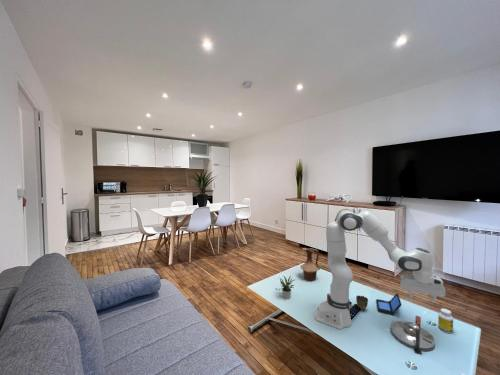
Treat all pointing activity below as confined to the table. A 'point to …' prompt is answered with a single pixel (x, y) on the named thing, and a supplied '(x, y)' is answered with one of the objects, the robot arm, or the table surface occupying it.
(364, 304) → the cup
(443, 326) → the pill bottle
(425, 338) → the turntable
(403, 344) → the turntable base
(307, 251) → the pitcher
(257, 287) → the table surface
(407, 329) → the cover
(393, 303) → the handheld game console
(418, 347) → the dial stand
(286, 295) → the house plant
